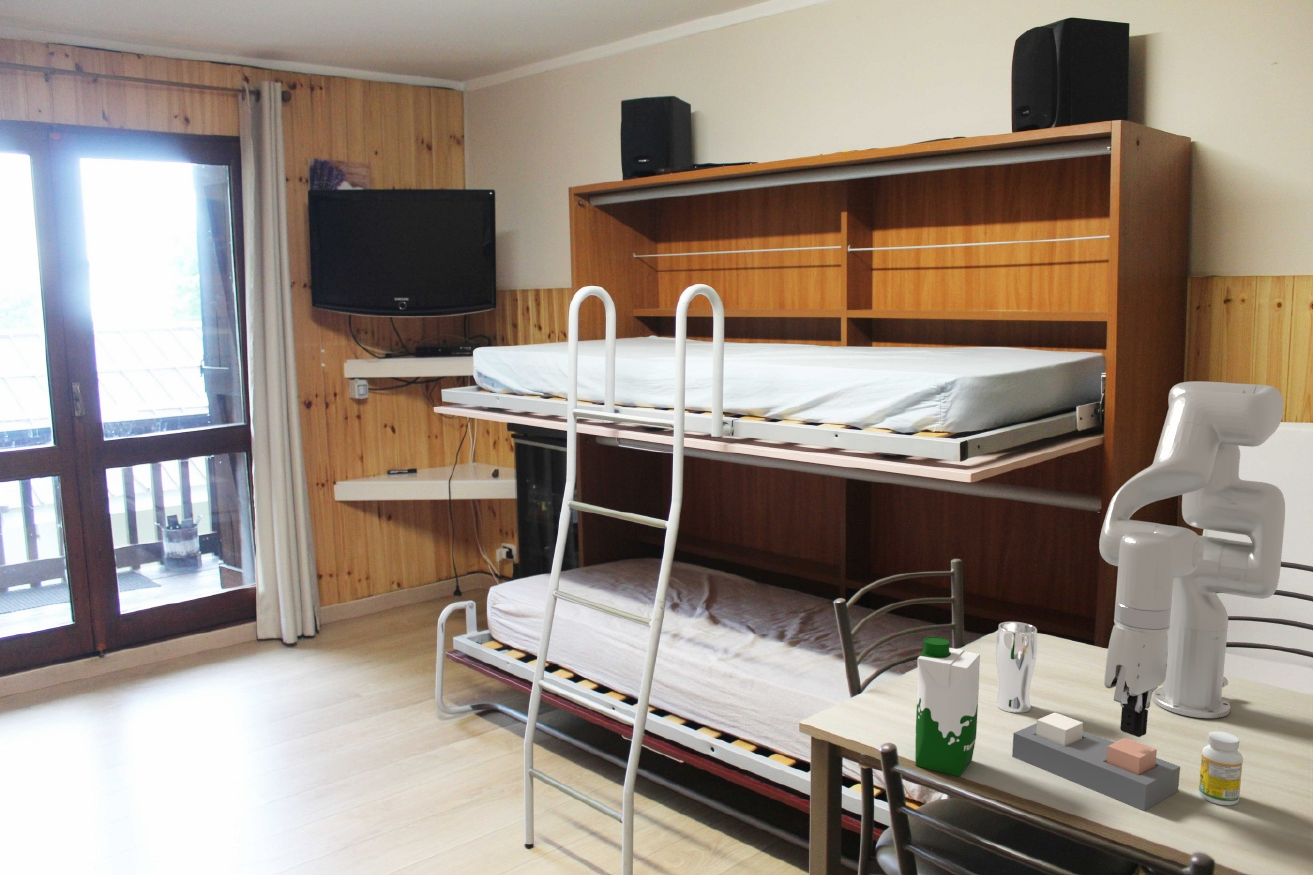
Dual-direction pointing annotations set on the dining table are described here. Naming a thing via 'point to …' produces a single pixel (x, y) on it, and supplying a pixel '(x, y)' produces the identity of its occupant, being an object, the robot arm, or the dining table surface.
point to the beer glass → (1015, 665)
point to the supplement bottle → (1221, 769)
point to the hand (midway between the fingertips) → (1133, 732)
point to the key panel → (1097, 768)
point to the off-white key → (1059, 729)
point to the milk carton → (946, 707)
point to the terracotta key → (1131, 756)
